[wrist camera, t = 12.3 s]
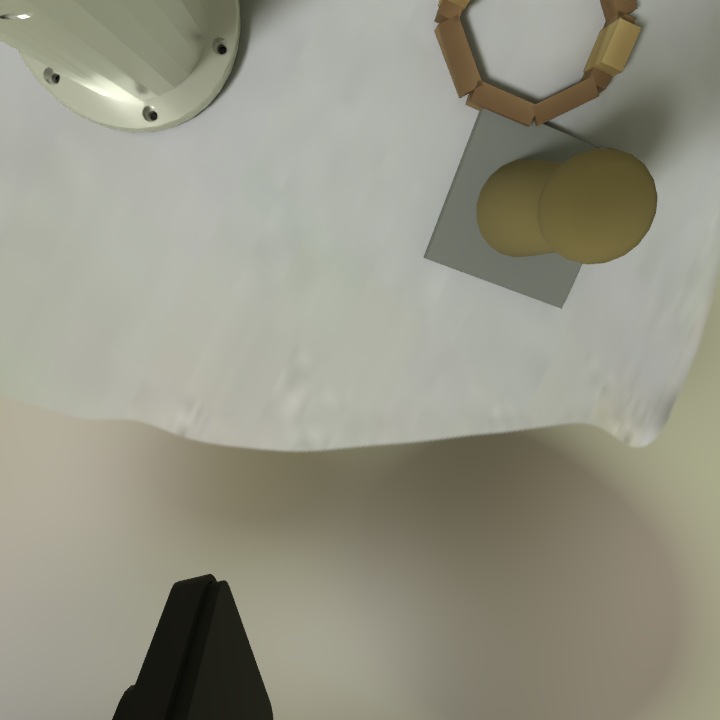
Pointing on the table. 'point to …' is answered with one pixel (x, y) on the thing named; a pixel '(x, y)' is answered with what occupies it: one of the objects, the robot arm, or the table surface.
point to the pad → (459, 214)
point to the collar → (597, 73)
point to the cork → (569, 206)
